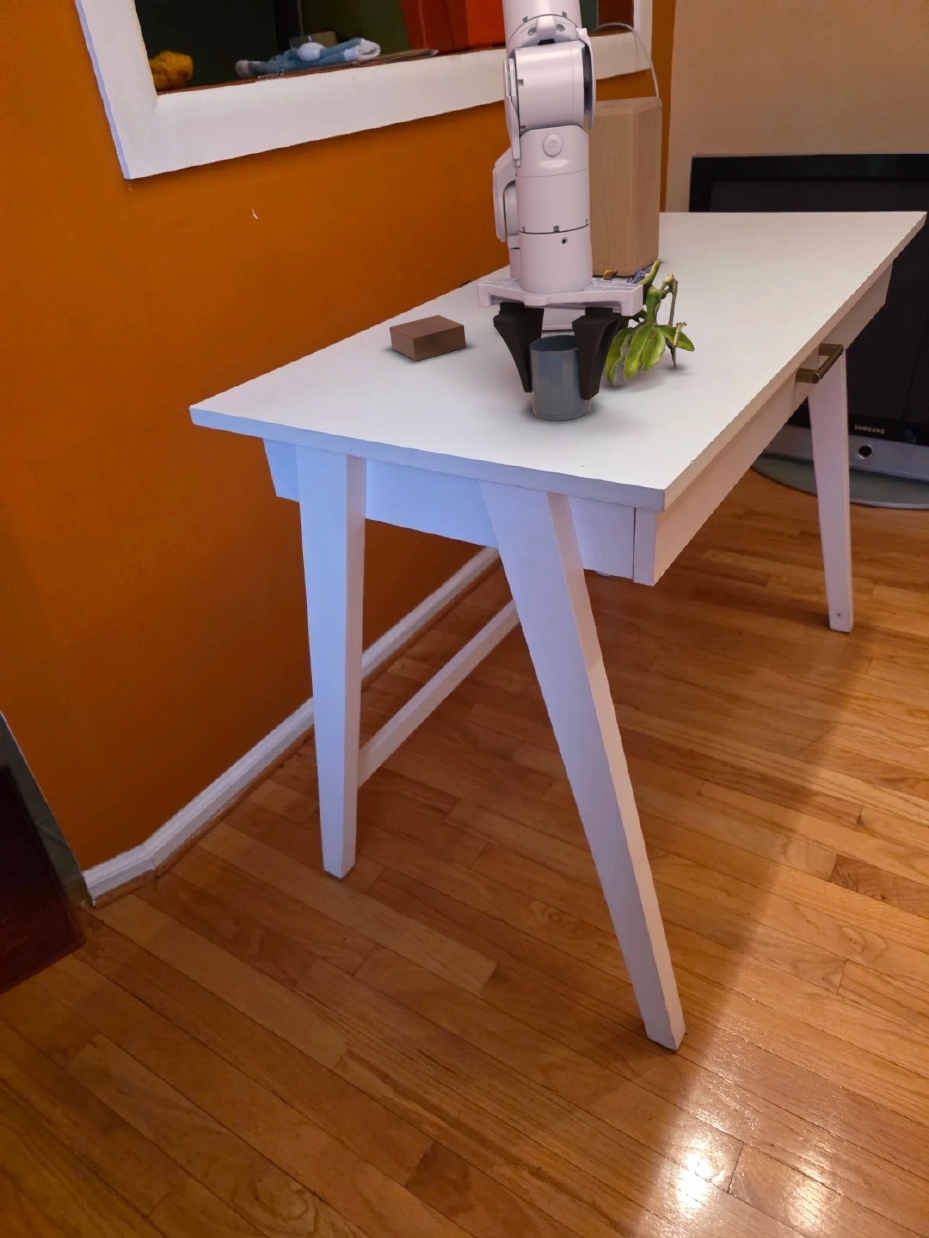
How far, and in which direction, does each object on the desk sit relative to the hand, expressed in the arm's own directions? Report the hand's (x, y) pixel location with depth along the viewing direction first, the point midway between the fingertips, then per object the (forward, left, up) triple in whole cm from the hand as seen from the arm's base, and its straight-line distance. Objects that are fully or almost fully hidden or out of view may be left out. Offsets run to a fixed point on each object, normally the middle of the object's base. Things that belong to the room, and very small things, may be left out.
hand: (560, 392), depth 73 cm
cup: (0, 0, -2) cm, 2 cm away
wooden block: (0, -53, -2) cm, 53 cm away
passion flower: (-6, -11, -2) cm, 13 cm away
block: (+18, -19, -2) cm, 27 cm away
